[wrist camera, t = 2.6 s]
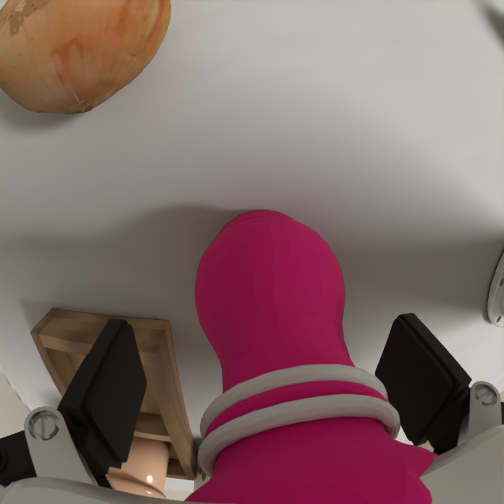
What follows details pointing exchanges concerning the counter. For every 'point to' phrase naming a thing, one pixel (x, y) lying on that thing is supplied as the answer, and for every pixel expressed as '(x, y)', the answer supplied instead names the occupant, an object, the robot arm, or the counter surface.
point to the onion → (76, 49)
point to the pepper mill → (292, 379)
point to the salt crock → (143, 468)
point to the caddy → (155, 367)
